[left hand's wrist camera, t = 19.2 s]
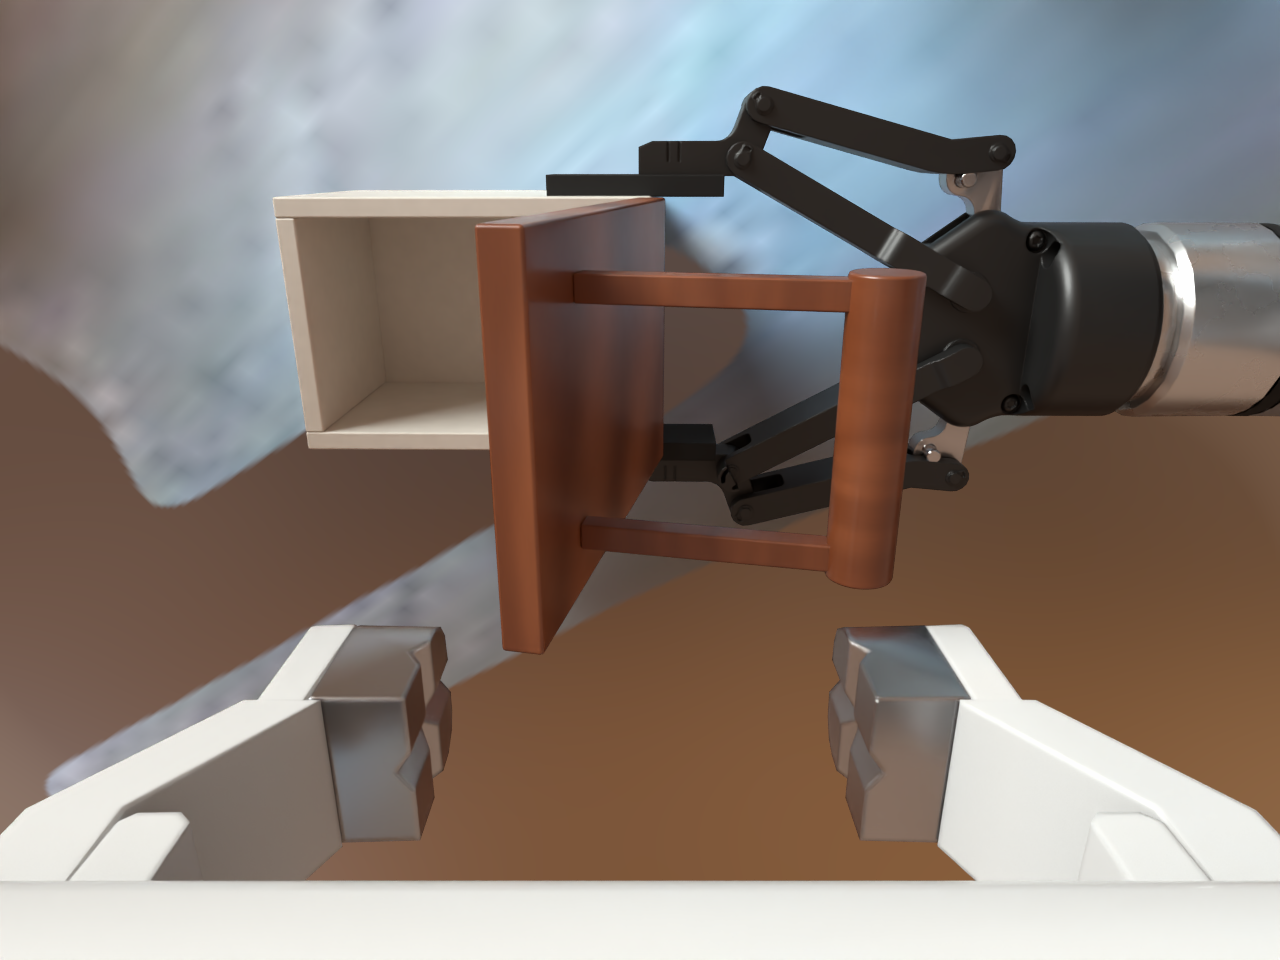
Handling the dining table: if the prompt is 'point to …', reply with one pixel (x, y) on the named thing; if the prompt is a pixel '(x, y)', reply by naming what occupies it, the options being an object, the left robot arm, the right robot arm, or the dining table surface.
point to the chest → (393, 311)
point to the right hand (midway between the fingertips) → (555, 320)
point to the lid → (660, 405)
